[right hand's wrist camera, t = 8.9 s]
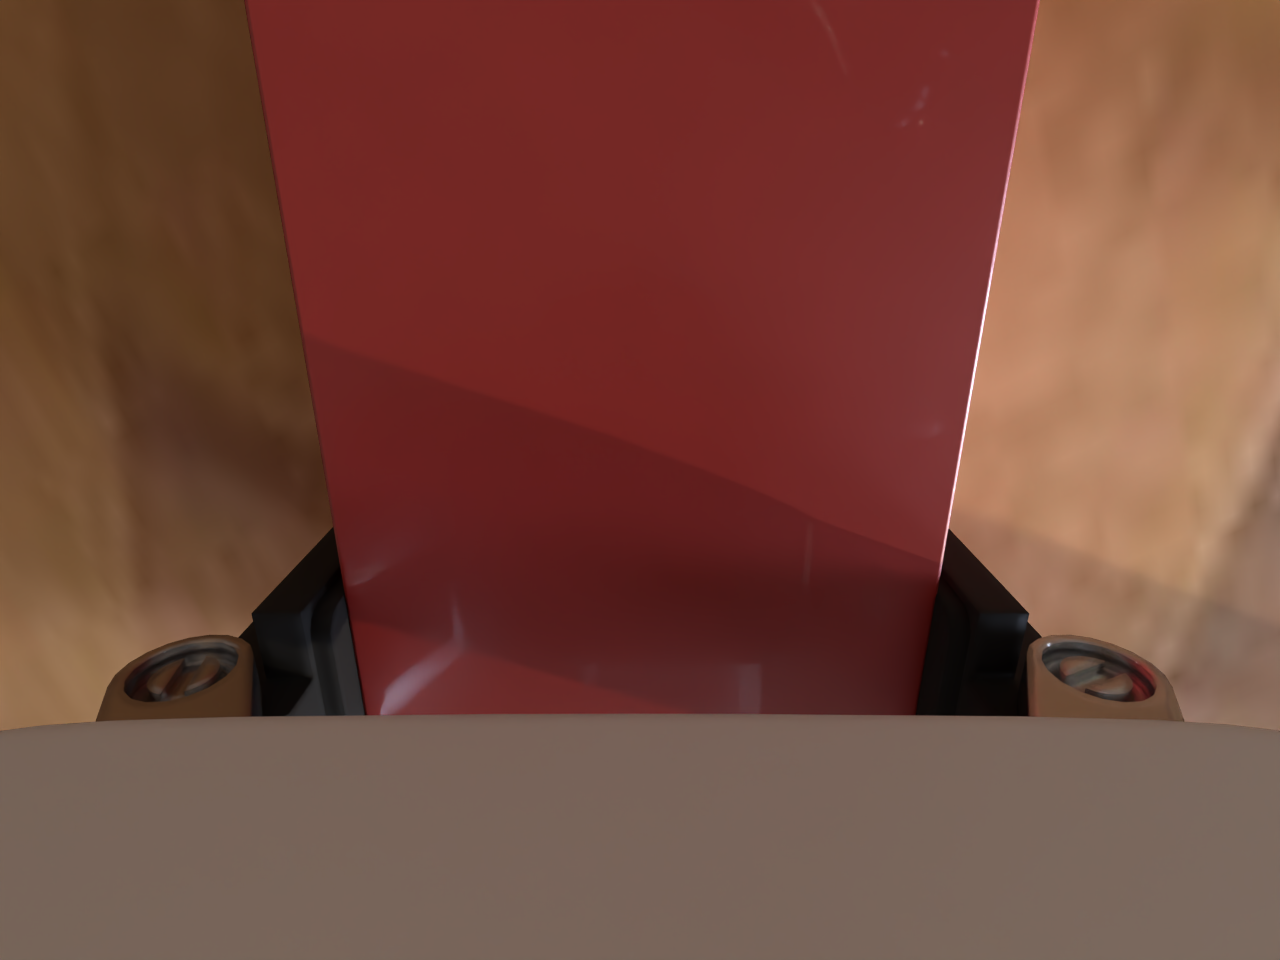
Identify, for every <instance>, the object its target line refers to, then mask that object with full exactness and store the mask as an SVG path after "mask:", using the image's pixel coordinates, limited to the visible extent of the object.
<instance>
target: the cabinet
mask: <svg viewBox="0 0 1280 960" xmlns="http://www.w3.org/2000/svg"><path fill="white" fill-rule="evenodd" d="M244 2H245V8H246V14H247V20H248V26H249V32H250V37H251V43H252V49H253V55H254V61H255V67H256V73H257V79H258V85H259V90H260V96H261V102H262V108H263V114H264V120H265V126H266V132H267V138H268V144H269V149H270V155H271V161H272V167H273V173H274V179H275V185H276V191H277V197H278V203H279V208H280V214H281V220H282V226H283V232H284V238H285V244H286V250H287V256H288V261H289V267H290V273H291V279H292V285H293V291H294V297H295V303H296V309H297V315H298V320H299V326H300V332H301V338H302V344H303V350H304V356H305V362H306V368H307V374H308V379H309V385H310V391H311V397H312V403H313V409H314V415H315V421H316V427H317V433H318V438H319V444H320V450H321V456H322V462H323V468H324V474H325V480H326V486H327V491H328V497H329V503H330V509H331V515H332V521H333V527H334V533H335V539H336V545H337V550H338V556H339V562H340V568H341V574H342V580H343V586H344V592H345V598H346V604H347V609H348V615H349V621H350V627H351V633H352V639H353V645H354V651H355V657H356V663H357V668H358V674H359V680H360V686H361V692H362V698H363V704H364V710H365V715H458V714H798V715H916V709H917V703H918V697H919V691H920V685H921V680H922V674H923V668H924V662H925V656H926V651H927V645H928V639H929V633H930V627H931V622H932V616H933V610H934V604H935V598H936V594H937V591H938V585H939V579H940V574H941V568H942V562H943V556H944V550H945V545H946V539H947V533H948V527H949V522H950V516H951V510H952V504H953V499H954V493H955V487H956V481H957V476H958V470H959V464H960V458H961V452H962V447H963V441H964V435H965V429H966V424H967V418H968V412H969V406H970V401H971V395H972V389H973V383H974V378H975V372H976V366H977V360H978V354H979V349H980V343H981V337H982V331H983V326H984V320H985V314H986V308H987V303H988V297H989V291H990V285H991V280H992V274H993V268H994V262H995V256H996V251H997V245H998V239H999V233H1000V228H1001V222H1002V216H1003V210H1004V205H1005V199H1006V193H1007V187H1008V181H1009V176H1010V170H1011V164H1012V158H1013V153H1014V147H1015V141H1016V135H1017V130H1018V124H1019V118H1020V112H1021V107H1022V101H1023V95H1024V89H1025V83H1026V78H1027V72H1028V66H1029V60H1030V55H1031V49H1032V43H1033V37H1034V32H1035V26H1036V20H1037V14H1038V9H1039V3H1040V0H244Z"/></svg>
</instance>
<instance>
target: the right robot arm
mask: <svg viewBox="0 0 1280 960" xmlns="http://www.w3.org/2000/svg"><path fill="white" fill-rule="evenodd" d="M1028 616H1029V613H1028V612H1027V611H1026V610H1025V609H1024V608H1023V607H1022V606H1021V604H1020V603H1019V602H1018V601H1017V600H1016V599H1015V598H1014V597H1013V596H1012V595H1011V594H1010V593H1009V592H1008V591H1007V590H1006V589H1005V588H1004V586H1003V585H1002V584H1001V583H1000V582H999V581H998V580H997V579H996V578H995V577H994V576H993V575H992V574H991V573H990V572H989V571H988V570H987V568H986V567H985V566H984V565H983V564H982V563H981V562H980V561H979V560H978V559H977V558H976V557H975V556H974V555H973V554H972V553H971V552H970V550H969V549H968V548H967V547H966V546H965V545H964V544H963V543H962V542H961V541H960V540H959V539H958V538H957V537H956V536H955V535H954V534H953V532H952V531H951V530H950V529H949V528H948V533H947V539H946V545H945V550H944V556H943V562H942V568H941V574H940V579H939V585H938V591H937V594H936V598H935V604H934V610H933V616H932V622H931V627H930V633H929V639H928V645H927V651H926V656H925V662H924V668H923V674H922V680H921V685H920V691H919V697H918V703H917V709H916V715H798V714H458V715H365V710H364V704H363V698H362V692H361V686H360V680H359V674H358V668H357V663H356V657H355V651H354V645H353V639H352V633H351V627H350V621H349V615H348V609H347V604H346V598H345V592H344V586H343V580H342V574H341V568H340V562H339V556H338V550H337V545H336V539H335V533H334V527H333V528H332V529H331V530H330V531H329V532H328V533H327V534H326V535H325V536H324V537H323V538H322V539H321V541H320V542H319V543H318V544H317V545H316V546H315V547H314V548H313V549H312V550H311V551H310V552H309V553H308V554H307V555H306V556H305V557H304V559H303V560H302V561H301V562H300V563H299V564H298V565H297V566H296V567H295V568H294V569H293V570H292V571H291V572H290V573H289V574H288V575H287V577H286V578H285V579H284V580H283V581H282V582H281V583H280V584H279V585H278V586H277V587H276V588H275V589H274V590H273V591H272V592H271V593H270V595H269V596H268V597H267V598H266V599H265V600H264V601H263V602H262V603H261V604H260V605H259V606H258V607H257V608H256V609H255V610H254V611H253V613H252V618H253V622H252V623H251V624H250V626H249V627H248V628H247V629H246V630H245V631H244V632H243V633H242V634H241V635H240V636H239V637H238V638H237V637H233V636H229V635H205V636H198V637H191V638H187V639H183V640H179V641H176V642H172V643H169V644H166V645H164V646H161V647H159V648H156V649H154V650H152V651H149V652H147V653H145V654H143V655H142V656H140V657H138V658H137V659H135V660H133V661H132V662H130V663H128V664H127V665H126V666H125V667H124V668H123V669H121V670H120V671H119V672H118V673H117V674H116V675H115V676H114V678H113V679H112V681H111V682H110V684H109V685H108V687H107V690H106V693H105V696H104V698H103V701H102V704H101V707H100V710H99V713H98V716H97V719H96V722H85V723H71V724H57V725H43V726H34V727H27V728H19V729H12V730H4V731H0V960H1280V731H1278V730H1269V729H1261V728H1253V727H1244V726H1236V725H1227V724H1210V723H1194V722H1184V719H1183V716H1182V713H1181V710H1180V707H1179V704H1178V701H1177V698H1176V696H1175V693H1174V690H1173V687H1172V685H1171V684H1170V682H1169V681H1168V679H1167V678H1166V676H1165V675H1164V674H1163V673H1162V672H1161V671H1160V670H1159V669H1157V668H1156V667H1155V666H1154V665H1153V664H1152V663H1150V662H1148V661H1147V660H1145V659H1143V658H1142V657H1140V656H1138V655H1137V654H1135V653H1133V652H1131V651H1128V650H1126V649H1124V648H1121V647H1119V646H1116V645H1114V644H1111V643H1108V642H1104V641H1101V640H1097V639H1093V638H1089V637H1082V636H1075V635H1051V636H1047V637H1043V638H1042V637H1041V636H1040V635H1039V634H1038V632H1037V631H1036V630H1035V629H1034V628H1033V627H1032V626H1031V625H1030V624H1029V623H1028V622H1027V621H1028Z"/></svg>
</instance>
